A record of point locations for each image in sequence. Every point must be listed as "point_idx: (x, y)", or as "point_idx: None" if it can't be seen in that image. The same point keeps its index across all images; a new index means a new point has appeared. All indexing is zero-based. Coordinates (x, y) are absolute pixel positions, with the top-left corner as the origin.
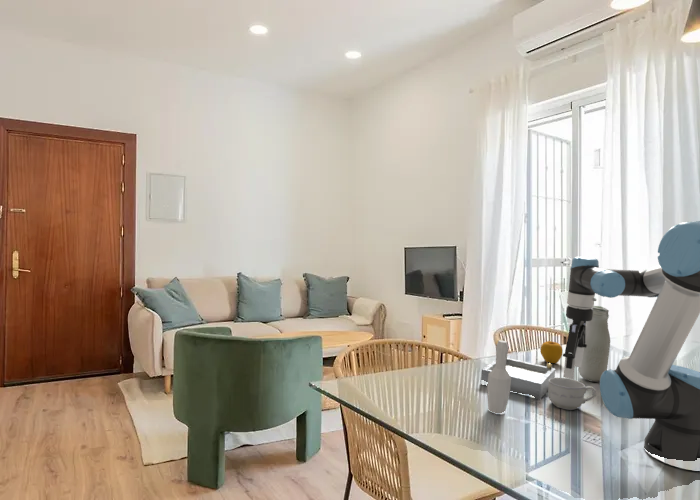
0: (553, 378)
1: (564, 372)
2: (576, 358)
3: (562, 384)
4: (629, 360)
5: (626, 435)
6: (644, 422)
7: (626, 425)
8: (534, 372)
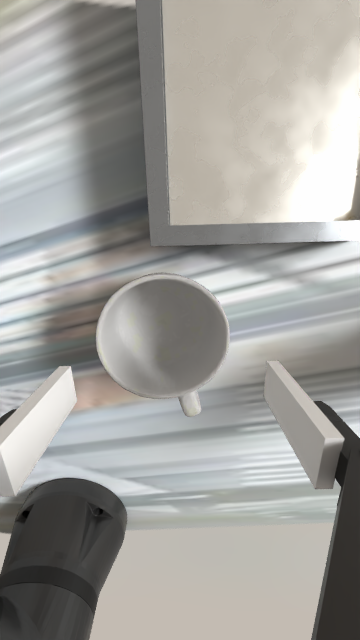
0: (190, 284)
1: (48, 381)
2: (282, 399)
3: (213, 309)
4: None
5: (98, 449)
6: (201, 465)
7: (153, 443)
8: (343, 161)
